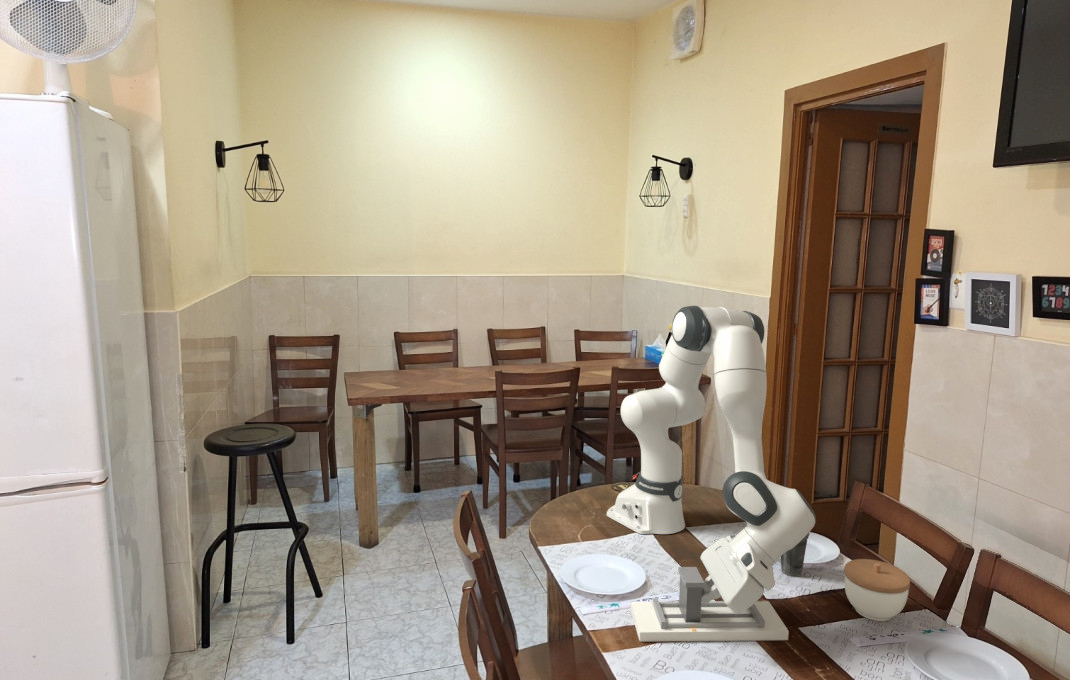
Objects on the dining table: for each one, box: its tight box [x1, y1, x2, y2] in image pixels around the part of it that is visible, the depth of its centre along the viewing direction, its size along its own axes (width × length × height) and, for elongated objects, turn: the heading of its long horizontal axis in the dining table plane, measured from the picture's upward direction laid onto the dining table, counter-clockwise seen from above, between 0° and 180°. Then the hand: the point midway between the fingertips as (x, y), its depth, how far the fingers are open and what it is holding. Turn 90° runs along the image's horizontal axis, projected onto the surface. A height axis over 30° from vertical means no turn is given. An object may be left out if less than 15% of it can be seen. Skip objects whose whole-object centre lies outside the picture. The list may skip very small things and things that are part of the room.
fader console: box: [630, 597, 789, 643], centre depth 139 cm, size 30×11×4 cm, turn 91°
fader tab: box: [677, 566, 705, 623], centre depth 138 cm, size 4×6×9 cm, turn 1°
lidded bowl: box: [843, 558, 911, 622], centre depth 143 cm, size 13×13×11 cm
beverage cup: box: [780, 531, 811, 578], centre depth 159 cm, size 7×7×20 cm
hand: (700, 599), depth 138 cm, fingers closed, pressing on fader tab
